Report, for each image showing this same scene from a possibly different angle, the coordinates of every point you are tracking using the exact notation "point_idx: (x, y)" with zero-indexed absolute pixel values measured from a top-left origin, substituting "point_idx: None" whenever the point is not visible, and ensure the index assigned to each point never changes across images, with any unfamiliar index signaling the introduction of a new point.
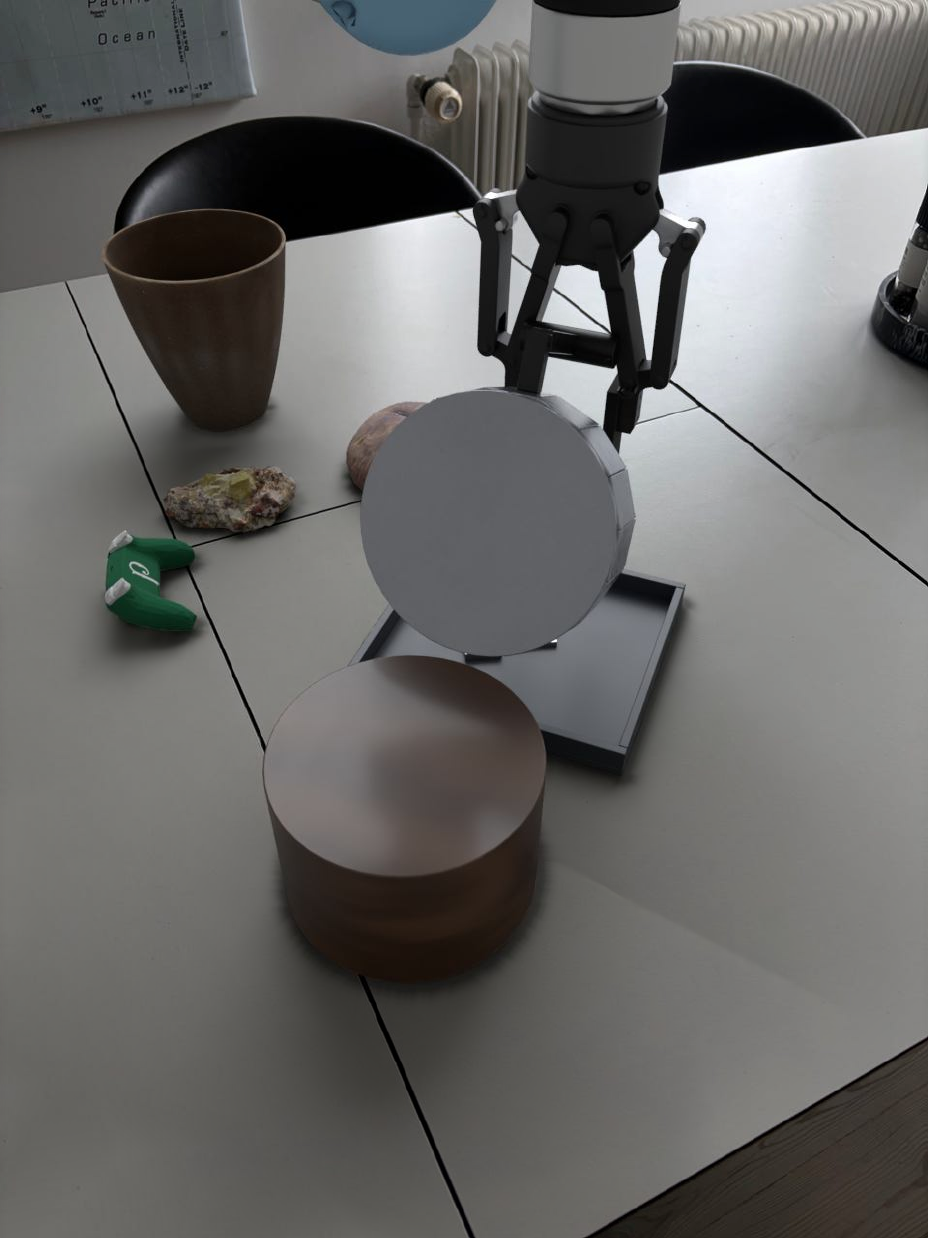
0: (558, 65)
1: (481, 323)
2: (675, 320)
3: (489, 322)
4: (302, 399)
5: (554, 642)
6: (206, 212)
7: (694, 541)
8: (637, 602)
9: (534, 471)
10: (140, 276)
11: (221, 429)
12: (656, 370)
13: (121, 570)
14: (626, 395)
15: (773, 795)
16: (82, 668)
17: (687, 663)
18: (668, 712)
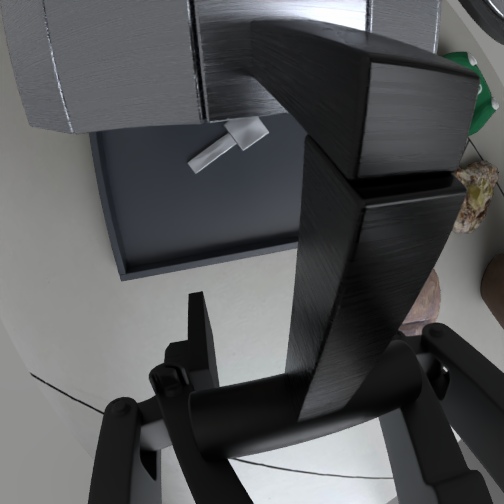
0: None
1: (469, 349)
2: None
3: (462, 358)
4: (467, 316)
5: (189, 161)
6: None
7: (156, 345)
8: (153, 251)
9: None
10: None
11: (494, 258)
12: (124, 422)
13: (480, 75)
14: (164, 367)
15: (8, 132)
16: (445, 29)
17: (91, 211)
18: (82, 153)
